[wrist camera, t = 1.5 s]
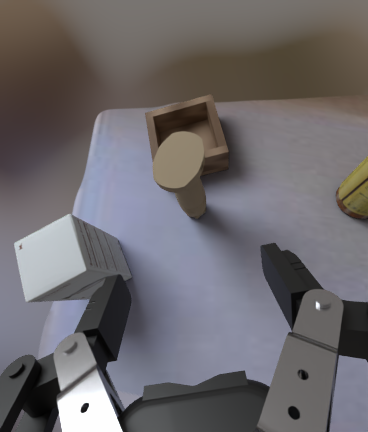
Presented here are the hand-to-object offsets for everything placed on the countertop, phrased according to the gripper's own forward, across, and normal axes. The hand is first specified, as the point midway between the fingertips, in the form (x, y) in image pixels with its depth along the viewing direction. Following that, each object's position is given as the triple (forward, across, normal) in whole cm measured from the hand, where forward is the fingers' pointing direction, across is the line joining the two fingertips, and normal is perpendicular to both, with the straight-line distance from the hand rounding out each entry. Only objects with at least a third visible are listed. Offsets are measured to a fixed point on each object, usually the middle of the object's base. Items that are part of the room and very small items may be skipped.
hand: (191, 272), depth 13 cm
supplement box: (+19, +16, +11) cm, 27 cm away
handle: (+23, 0, +7) cm, 24 cm away
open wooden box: (+31, -1, -2) cm, 31 cm away
